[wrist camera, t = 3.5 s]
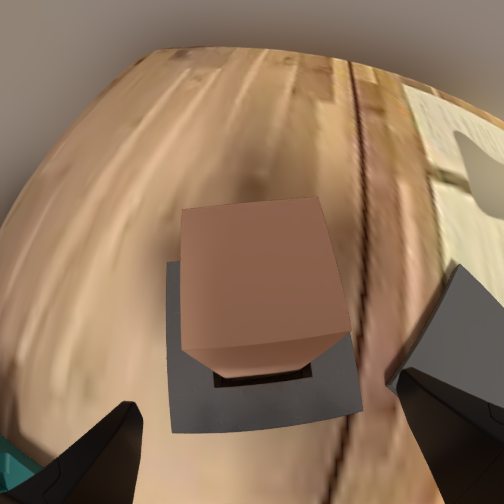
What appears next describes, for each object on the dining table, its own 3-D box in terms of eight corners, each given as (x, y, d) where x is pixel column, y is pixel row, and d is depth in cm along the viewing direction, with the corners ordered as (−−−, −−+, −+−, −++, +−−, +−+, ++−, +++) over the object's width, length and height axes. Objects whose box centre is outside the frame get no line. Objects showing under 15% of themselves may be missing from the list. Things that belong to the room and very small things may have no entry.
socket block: (346, 409, 17) (363, 411, 14) (186, 428, 16) (171, 433, 13) (320, 268, 22) (329, 246, 19) (179, 283, 22) (167, 262, 19)
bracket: (-17, 468, 11) (-68, 465, 4) (-16, 418, 14) (-71, 407, 8) (122, 563, 10) (79, 599, 3) (127, 512, 13) (73, 545, 6)
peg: (293, 373, 18) (351, 330, 7) (229, 381, 18) (181, 349, 7) (285, 314, 21) (317, 196, 9) (224, 320, 20) (182, 209, 9)
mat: (475, 460, 13) (482, 461, 12) (385, 385, 17) (391, 384, 17) (526, 345, 17) (532, 342, 16) (454, 268, 22) (459, 263, 21)
